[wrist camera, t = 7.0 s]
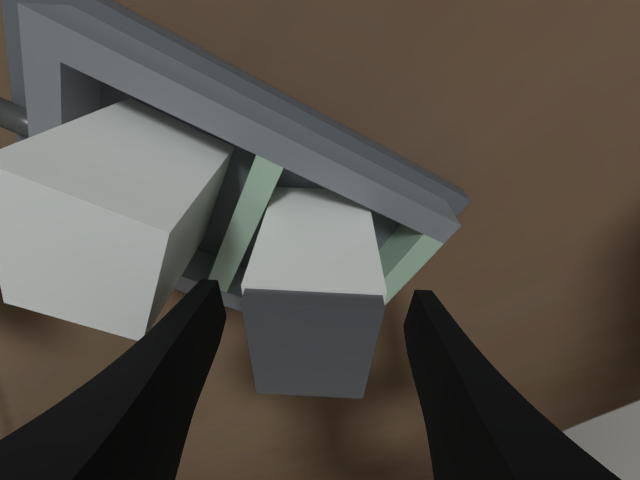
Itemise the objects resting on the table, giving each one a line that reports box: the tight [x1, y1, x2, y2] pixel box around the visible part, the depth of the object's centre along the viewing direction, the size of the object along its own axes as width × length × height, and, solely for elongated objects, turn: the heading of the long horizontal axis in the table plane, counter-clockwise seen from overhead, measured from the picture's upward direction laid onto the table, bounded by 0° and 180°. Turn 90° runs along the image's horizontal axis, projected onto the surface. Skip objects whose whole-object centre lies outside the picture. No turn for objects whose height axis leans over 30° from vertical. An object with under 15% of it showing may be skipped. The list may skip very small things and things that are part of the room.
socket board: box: [0, 0, 471, 341], centre depth 12 cm, size 18×10×7 cm, turn 63°
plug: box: [241, 187, 387, 399], centre depth 12 cm, size 4×5×6 cm
